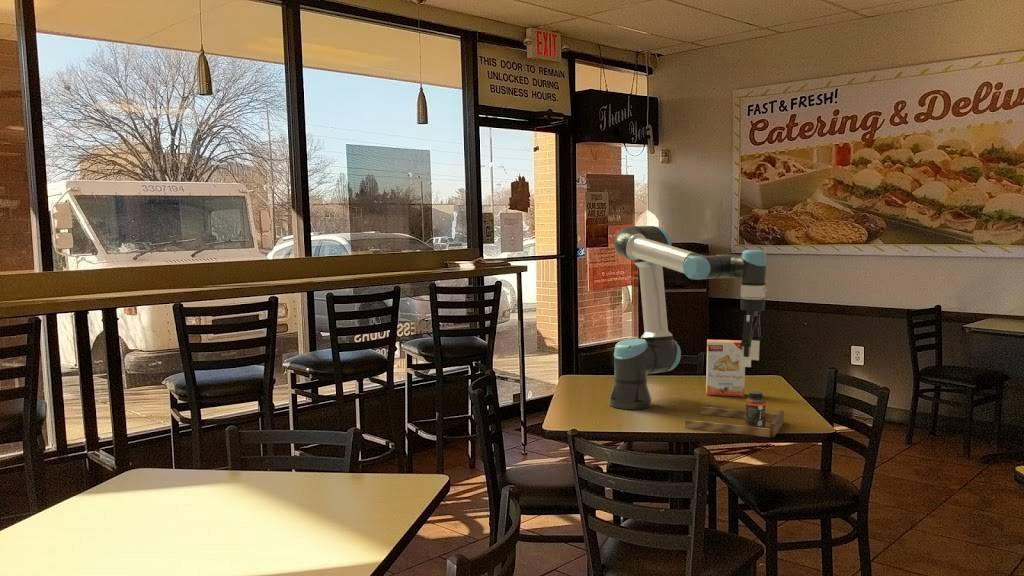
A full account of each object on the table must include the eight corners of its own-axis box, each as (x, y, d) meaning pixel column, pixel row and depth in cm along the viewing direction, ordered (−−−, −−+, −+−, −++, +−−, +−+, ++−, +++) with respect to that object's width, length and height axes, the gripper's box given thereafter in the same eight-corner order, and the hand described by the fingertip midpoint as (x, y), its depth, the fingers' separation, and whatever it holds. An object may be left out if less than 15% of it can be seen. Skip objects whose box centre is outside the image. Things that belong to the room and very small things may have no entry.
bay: (685, 428, 252) (685, 415, 251) (701, 413, 271) (701, 402, 271) (774, 437, 240) (774, 424, 239) (784, 421, 259) (784, 409, 259)
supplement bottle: (765, 429, 249) (766, 394, 248) (746, 429, 250) (747, 393, 250) (763, 425, 255) (764, 390, 254) (744, 424, 256) (745, 389, 255)
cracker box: (706, 395, 300) (707, 341, 299) (705, 392, 306) (706, 339, 305) (745, 397, 298) (746, 342, 296) (743, 393, 304) (744, 339, 302)
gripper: (757, 302, 241) (755, 370, 243) (771, 295, 263) (769, 358, 265) (732, 301, 245) (730, 368, 247) (748, 294, 267) (746, 356, 269)
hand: (750, 363), depth 256 cm, fingers open, 13 cm apart
